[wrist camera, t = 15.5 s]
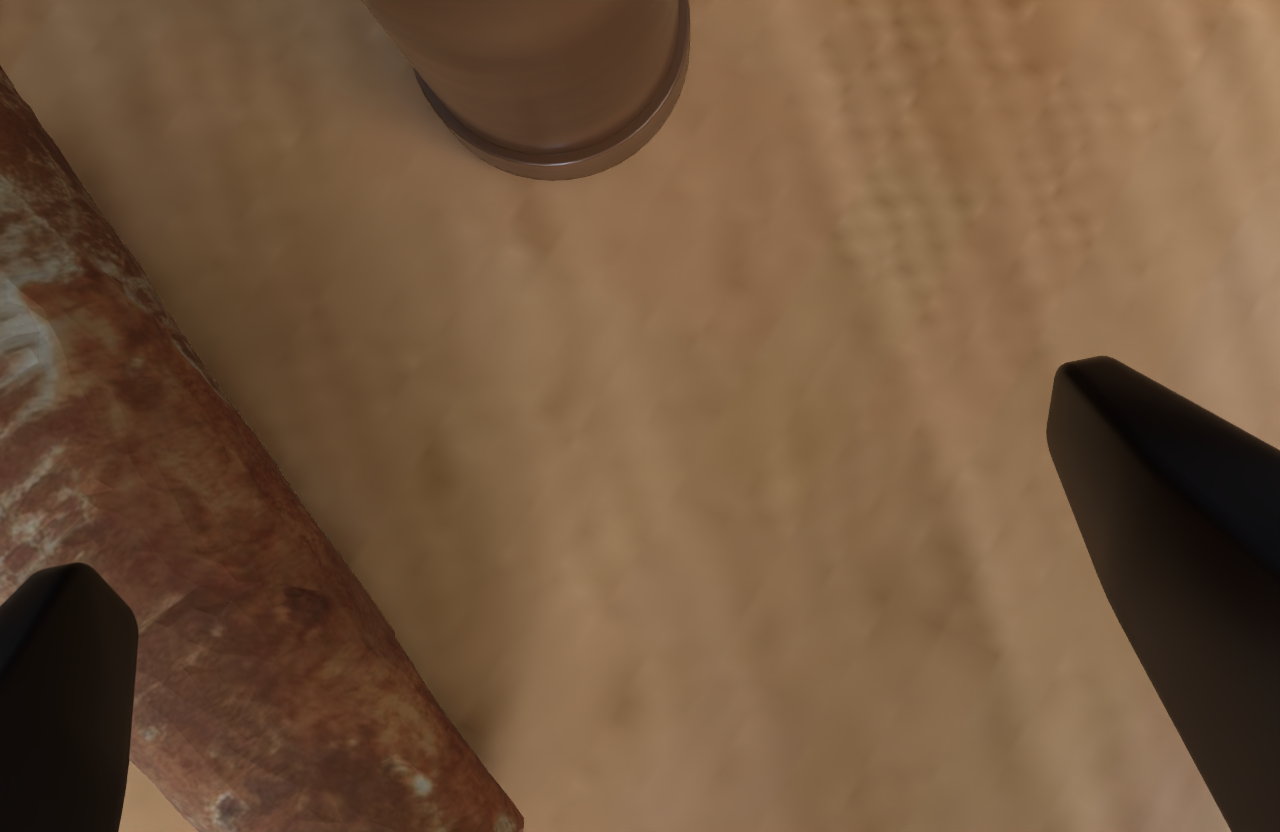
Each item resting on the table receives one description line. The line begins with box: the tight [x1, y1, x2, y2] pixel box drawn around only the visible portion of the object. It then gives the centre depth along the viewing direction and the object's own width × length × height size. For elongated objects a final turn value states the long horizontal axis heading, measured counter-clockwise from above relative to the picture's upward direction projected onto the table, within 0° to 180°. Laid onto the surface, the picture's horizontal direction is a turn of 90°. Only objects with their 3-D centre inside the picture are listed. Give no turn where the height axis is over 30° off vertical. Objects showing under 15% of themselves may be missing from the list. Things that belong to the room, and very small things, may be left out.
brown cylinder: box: [0, 66, 524, 832], centre depth 17 cm, size 6×19×6 cm, turn 36°
